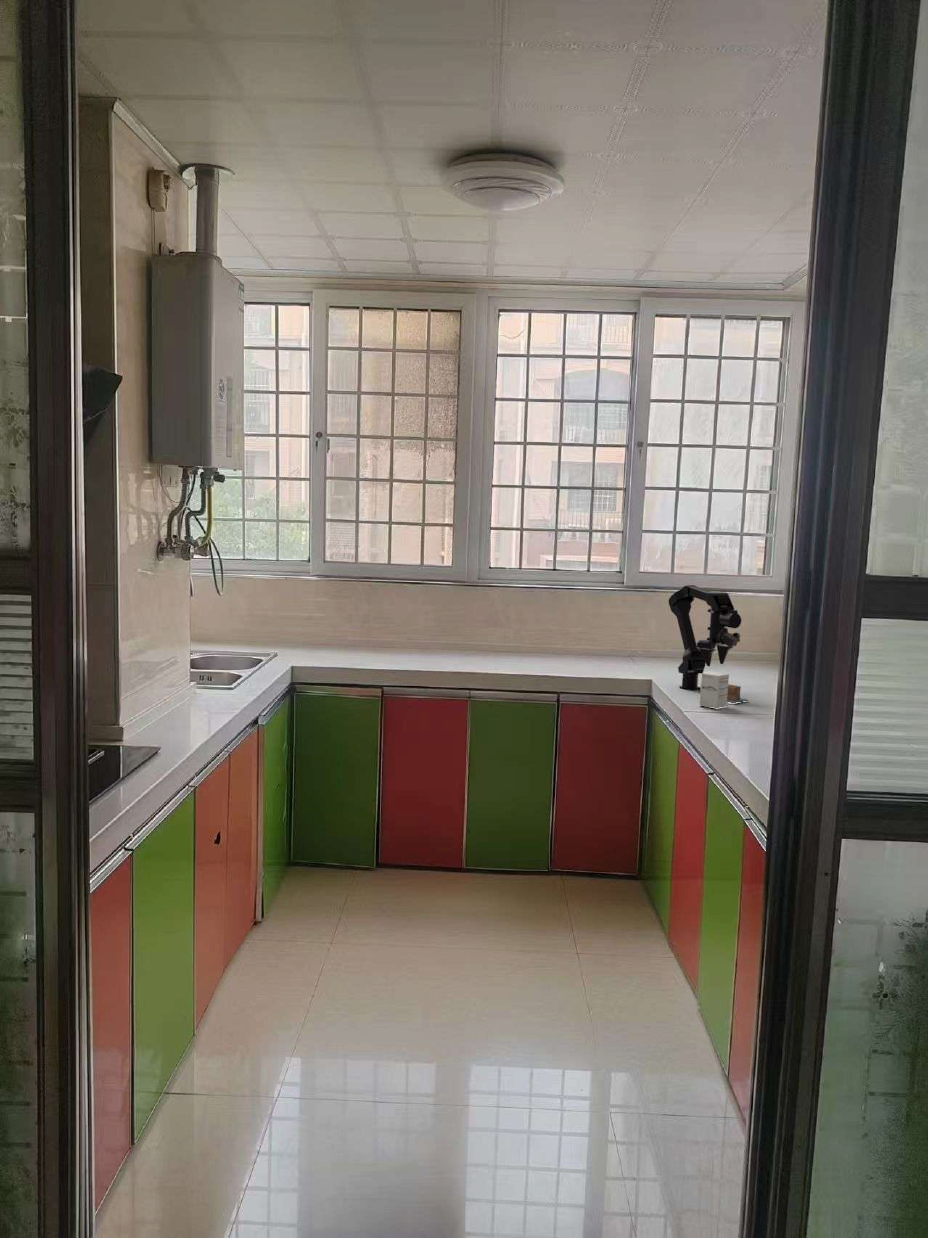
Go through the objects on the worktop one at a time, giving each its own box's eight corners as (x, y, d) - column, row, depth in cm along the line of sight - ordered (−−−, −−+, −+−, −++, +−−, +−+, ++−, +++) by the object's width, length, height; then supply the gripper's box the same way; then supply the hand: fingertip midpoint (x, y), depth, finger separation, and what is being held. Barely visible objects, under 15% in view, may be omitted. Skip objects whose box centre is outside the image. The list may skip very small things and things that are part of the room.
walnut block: (728, 697, 370) (729, 684, 369) (739, 699, 366) (740, 686, 366) (720, 698, 367) (721, 685, 366) (732, 701, 363) (733, 687, 362)
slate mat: (727, 697, 373) (727, 695, 373) (747, 701, 367) (748, 699, 367) (712, 700, 366) (712, 698, 366) (733, 704, 360) (733, 702, 360)
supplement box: (698, 706, 355) (700, 672, 353) (709, 704, 360) (711, 670, 358) (716, 710, 349) (718, 675, 348) (727, 707, 355) (729, 673, 353)
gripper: (722, 629, 361) (720, 670, 363) (749, 625, 374) (746, 665, 376) (697, 625, 369) (694, 666, 371) (723, 622, 382) (721, 661, 384)
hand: (715, 665), depth 375 cm, fingers open, 9 cm apart
